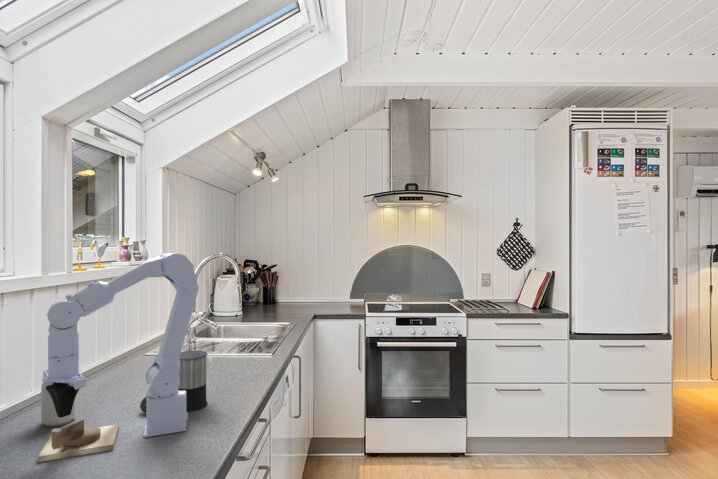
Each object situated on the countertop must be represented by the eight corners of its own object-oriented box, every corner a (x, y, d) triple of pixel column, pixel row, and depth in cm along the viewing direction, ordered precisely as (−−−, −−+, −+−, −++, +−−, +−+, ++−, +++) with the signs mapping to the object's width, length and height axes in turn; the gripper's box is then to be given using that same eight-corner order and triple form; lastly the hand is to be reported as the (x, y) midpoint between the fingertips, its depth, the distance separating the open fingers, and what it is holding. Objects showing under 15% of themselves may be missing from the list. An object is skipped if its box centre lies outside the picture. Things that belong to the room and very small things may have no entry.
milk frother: (214, 404, 126) (214, 352, 126) (166, 423, 112) (166, 366, 113) (182, 395, 133) (182, 346, 133) (133, 412, 120) (133, 358, 120)
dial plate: (119, 428, 109) (119, 423, 109) (113, 449, 98) (113, 443, 98) (52, 439, 104) (52, 433, 104) (37, 462, 93) (37, 455, 93)
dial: (81, 430, 105) (81, 410, 105) (108, 433, 103) (108, 412, 103) (39, 451, 94) (39, 429, 94) (69, 455, 93) (69, 431, 93)
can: (82, 415, 118) (82, 371, 118) (64, 427, 110) (64, 380, 110) (53, 416, 117) (53, 371, 118) (34, 428, 110) (34, 380, 110)
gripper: (27, 354, 98) (28, 415, 97) (60, 363, 90) (60, 429, 90) (62, 347, 104) (62, 405, 104) (95, 355, 96) (95, 417, 96)
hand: (64, 415), depth 97 cm, fingers closed
